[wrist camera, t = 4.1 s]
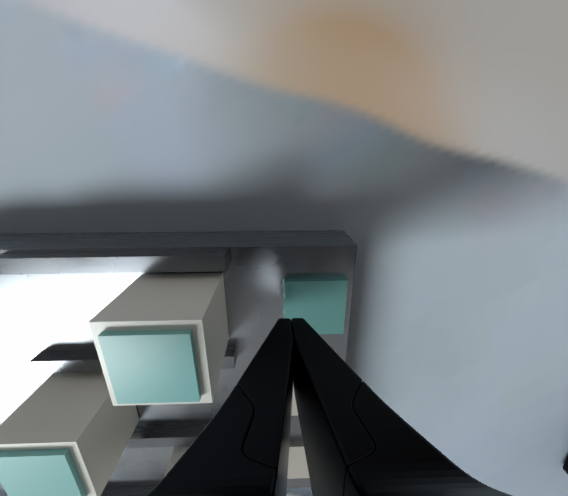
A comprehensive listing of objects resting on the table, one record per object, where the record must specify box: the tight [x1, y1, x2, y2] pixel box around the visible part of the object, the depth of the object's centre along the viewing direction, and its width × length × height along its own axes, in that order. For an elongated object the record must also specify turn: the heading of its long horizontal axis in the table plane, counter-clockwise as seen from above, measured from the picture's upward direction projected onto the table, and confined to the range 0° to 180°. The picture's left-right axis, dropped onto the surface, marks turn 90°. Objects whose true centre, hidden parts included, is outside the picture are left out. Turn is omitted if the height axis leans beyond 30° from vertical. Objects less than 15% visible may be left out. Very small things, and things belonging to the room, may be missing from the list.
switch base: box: [0, 231, 357, 496], centre depth 12 cm, size 16×14×3 cm
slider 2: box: [88, 273, 229, 406], centre depth 9 cm, size 3×3×3 cm
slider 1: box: [0, 372, 139, 496], centre depth 10 cm, size 3×3×3 cm
